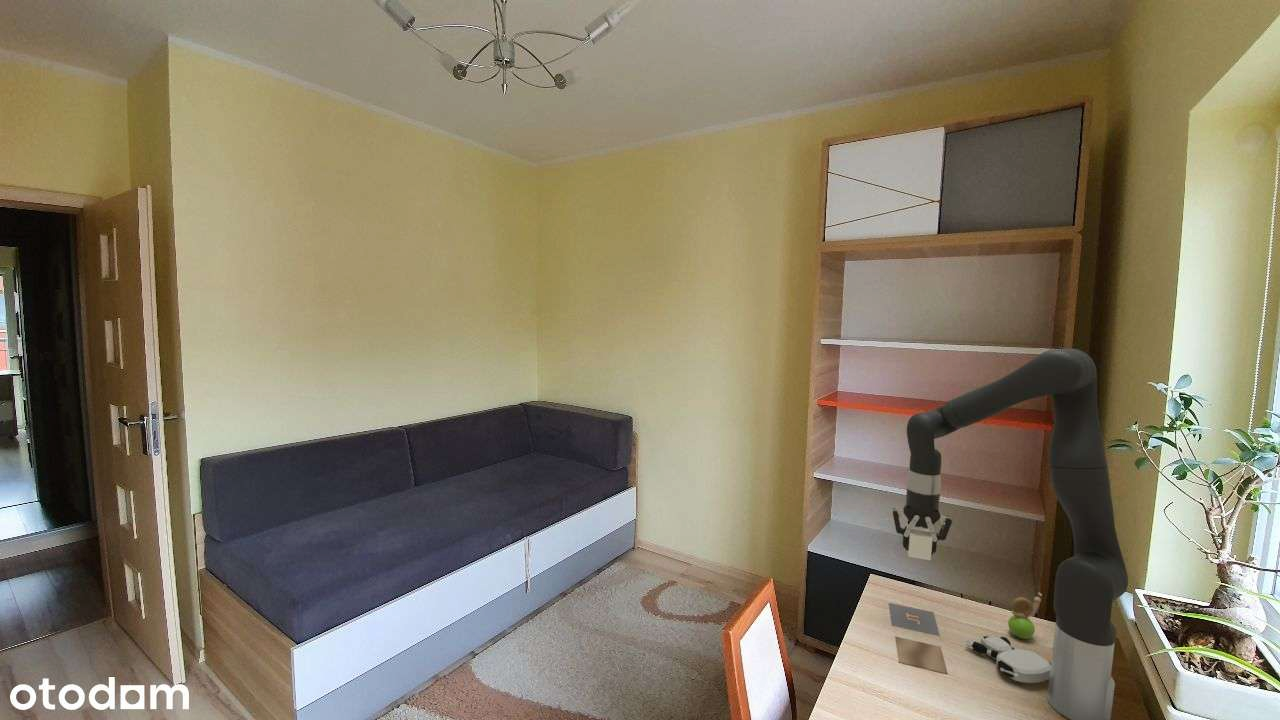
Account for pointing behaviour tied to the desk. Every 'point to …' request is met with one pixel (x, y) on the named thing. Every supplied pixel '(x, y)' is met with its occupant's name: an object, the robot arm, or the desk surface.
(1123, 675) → the desk surface
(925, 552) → the white block
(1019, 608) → the snail figurine
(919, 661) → the walnut board
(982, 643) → the robot toy
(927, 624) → the mat
